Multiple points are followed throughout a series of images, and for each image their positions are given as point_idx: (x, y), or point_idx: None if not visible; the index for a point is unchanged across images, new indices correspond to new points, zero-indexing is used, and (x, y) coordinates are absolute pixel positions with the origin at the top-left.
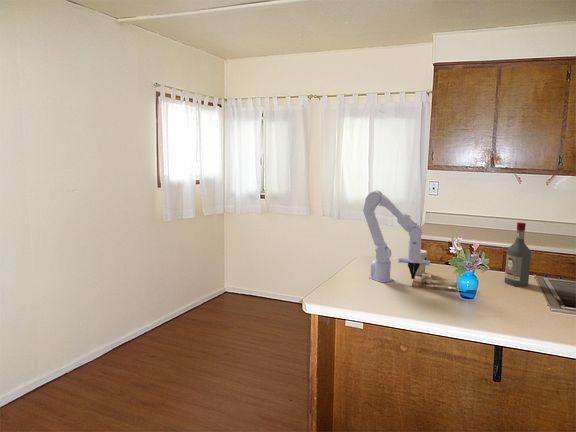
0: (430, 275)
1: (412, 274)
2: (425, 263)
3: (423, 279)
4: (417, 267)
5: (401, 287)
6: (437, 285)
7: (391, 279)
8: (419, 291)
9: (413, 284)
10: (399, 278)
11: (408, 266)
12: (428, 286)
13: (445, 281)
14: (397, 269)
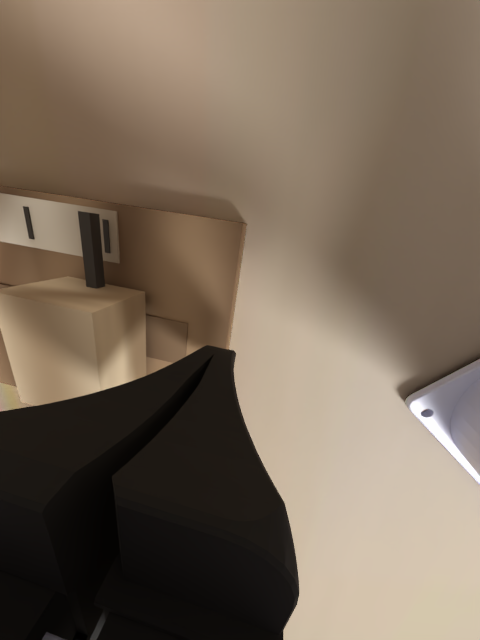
0: (15, 368)
1: (212, 369)
2: None
3: (99, 295)
4: (6, 419)
5: (378, 134)
6: (15, 256)
7: (440, 396)
8: (163, 6)
9: (224, 224)
10: (330, 454)
11: (275, 502)
12: (76, 198)
13: (3, 382)
14: (307, 605)
